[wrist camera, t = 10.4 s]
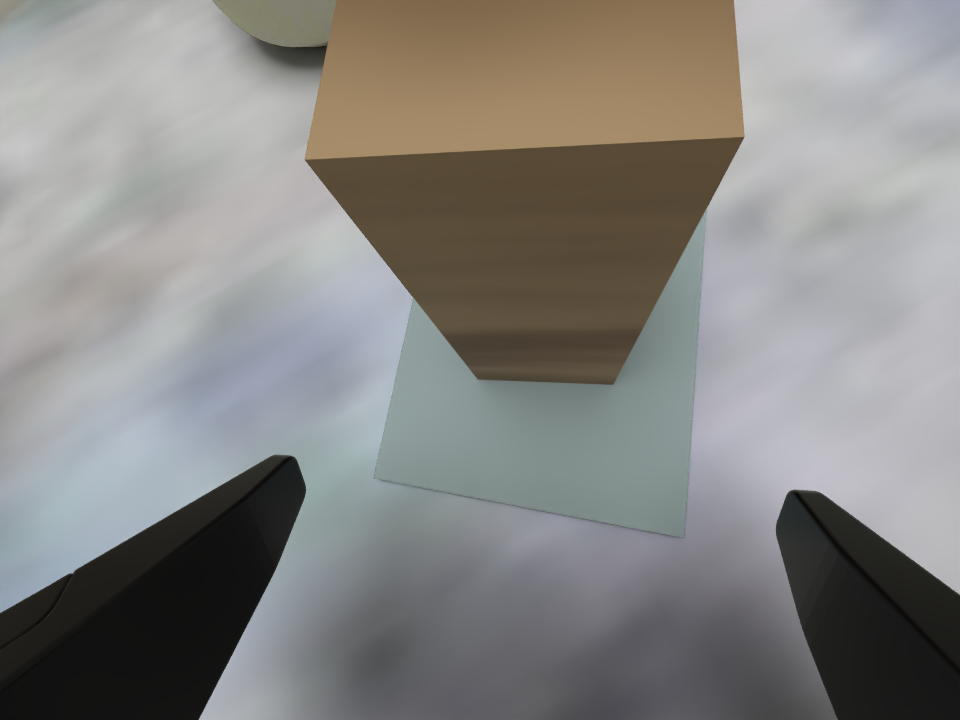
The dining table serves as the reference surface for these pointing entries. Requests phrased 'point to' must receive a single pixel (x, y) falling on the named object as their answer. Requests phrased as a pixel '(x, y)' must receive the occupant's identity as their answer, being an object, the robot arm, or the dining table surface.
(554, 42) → the walnut block
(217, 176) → the dining table surface
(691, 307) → the slate mat
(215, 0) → the teacup
